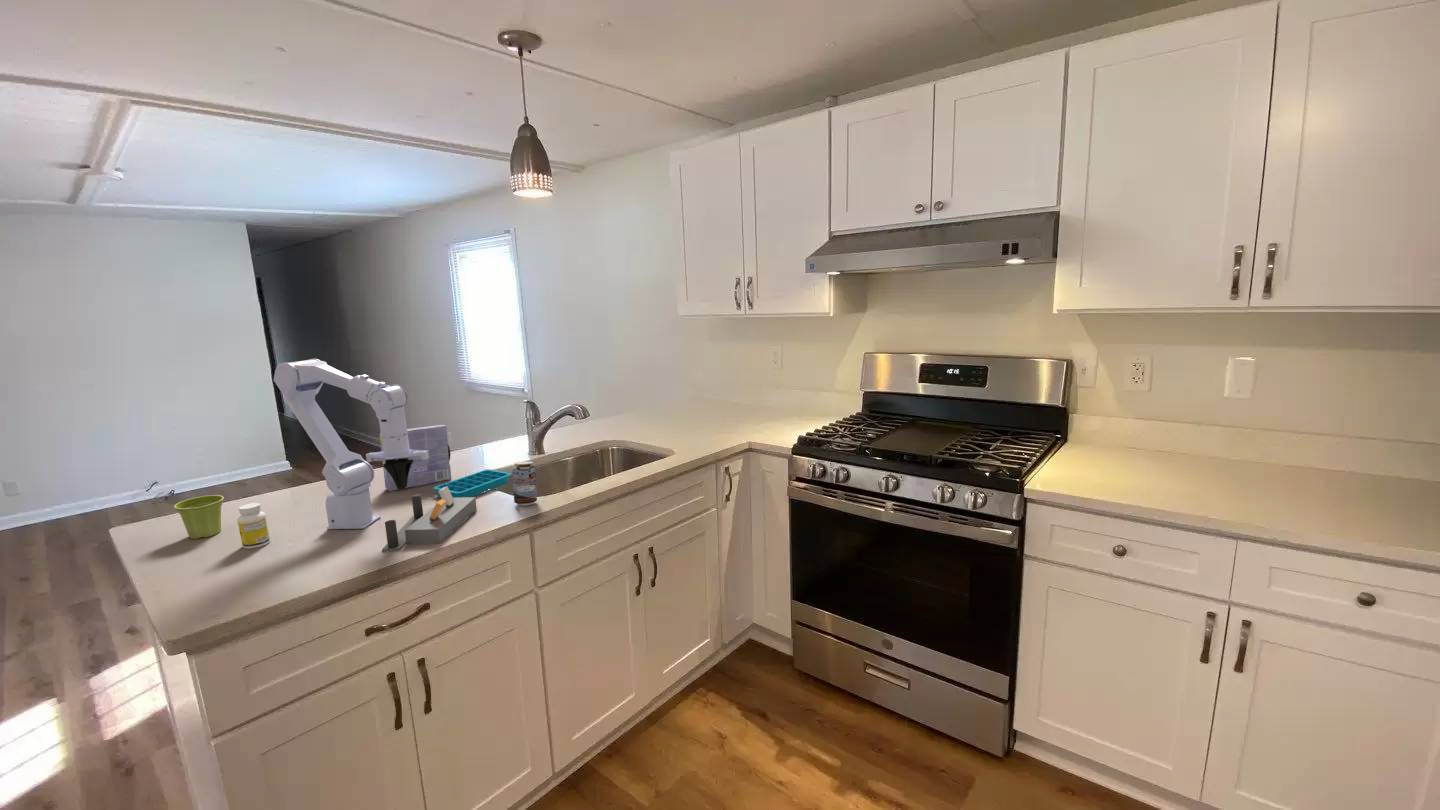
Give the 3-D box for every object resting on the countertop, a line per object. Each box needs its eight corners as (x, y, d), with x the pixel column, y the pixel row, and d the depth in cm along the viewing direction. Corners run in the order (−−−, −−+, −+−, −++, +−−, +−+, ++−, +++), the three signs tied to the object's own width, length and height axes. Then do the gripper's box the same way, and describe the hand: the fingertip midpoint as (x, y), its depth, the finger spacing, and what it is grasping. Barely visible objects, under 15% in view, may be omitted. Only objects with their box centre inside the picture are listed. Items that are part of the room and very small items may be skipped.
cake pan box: (451, 475, 194) (445, 422, 191) (455, 479, 190) (449, 424, 187) (384, 488, 182) (377, 432, 179) (388, 492, 178) (380, 435, 175)
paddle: (445, 508, 155) (438, 491, 154) (451, 504, 158) (443, 487, 157) (450, 507, 155) (442, 489, 154) (455, 502, 158) (447, 485, 157)
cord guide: (382, 552, 138) (378, 524, 136) (413, 518, 158) (409, 494, 157) (400, 551, 138) (397, 523, 137) (429, 517, 159) (426, 493, 157)
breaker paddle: (428, 519, 146) (436, 503, 145) (434, 515, 149) (442, 498, 148) (432, 522, 146) (440, 505, 145) (438, 517, 149) (446, 500, 148)
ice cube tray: (432, 497, 174) (431, 487, 174) (487, 478, 192) (486, 469, 191) (460, 503, 169) (458, 493, 169) (514, 482, 187) (513, 473, 186)
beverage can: (513, 509, 163) (510, 467, 160) (515, 500, 170) (511, 459, 167) (538, 507, 164) (534, 465, 162) (538, 498, 171) (535, 457, 169)
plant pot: (239, 528, 153) (233, 496, 151) (198, 543, 144) (192, 509, 143) (212, 525, 156) (205, 493, 154) (171, 540, 147) (164, 506, 145)
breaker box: (406, 543, 142) (404, 529, 141) (447, 509, 163) (445, 497, 163) (440, 543, 142) (438, 529, 141) (476, 509, 163) (475, 497, 163)
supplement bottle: (247, 542, 145) (240, 503, 143) (274, 538, 147) (267, 500, 145) (238, 551, 140) (231, 511, 138) (266, 547, 142) (259, 507, 140)
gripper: (355, 440, 143) (364, 494, 146) (416, 437, 143) (423, 492, 146) (372, 433, 150) (380, 485, 153) (429, 431, 150) (436, 482, 153)
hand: (402, 487), depth 150 cm, fingers closed
